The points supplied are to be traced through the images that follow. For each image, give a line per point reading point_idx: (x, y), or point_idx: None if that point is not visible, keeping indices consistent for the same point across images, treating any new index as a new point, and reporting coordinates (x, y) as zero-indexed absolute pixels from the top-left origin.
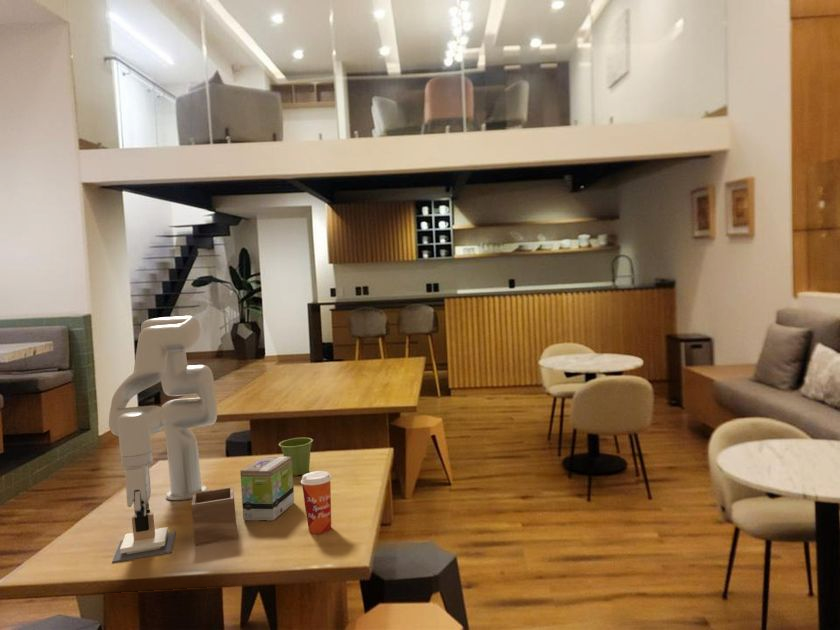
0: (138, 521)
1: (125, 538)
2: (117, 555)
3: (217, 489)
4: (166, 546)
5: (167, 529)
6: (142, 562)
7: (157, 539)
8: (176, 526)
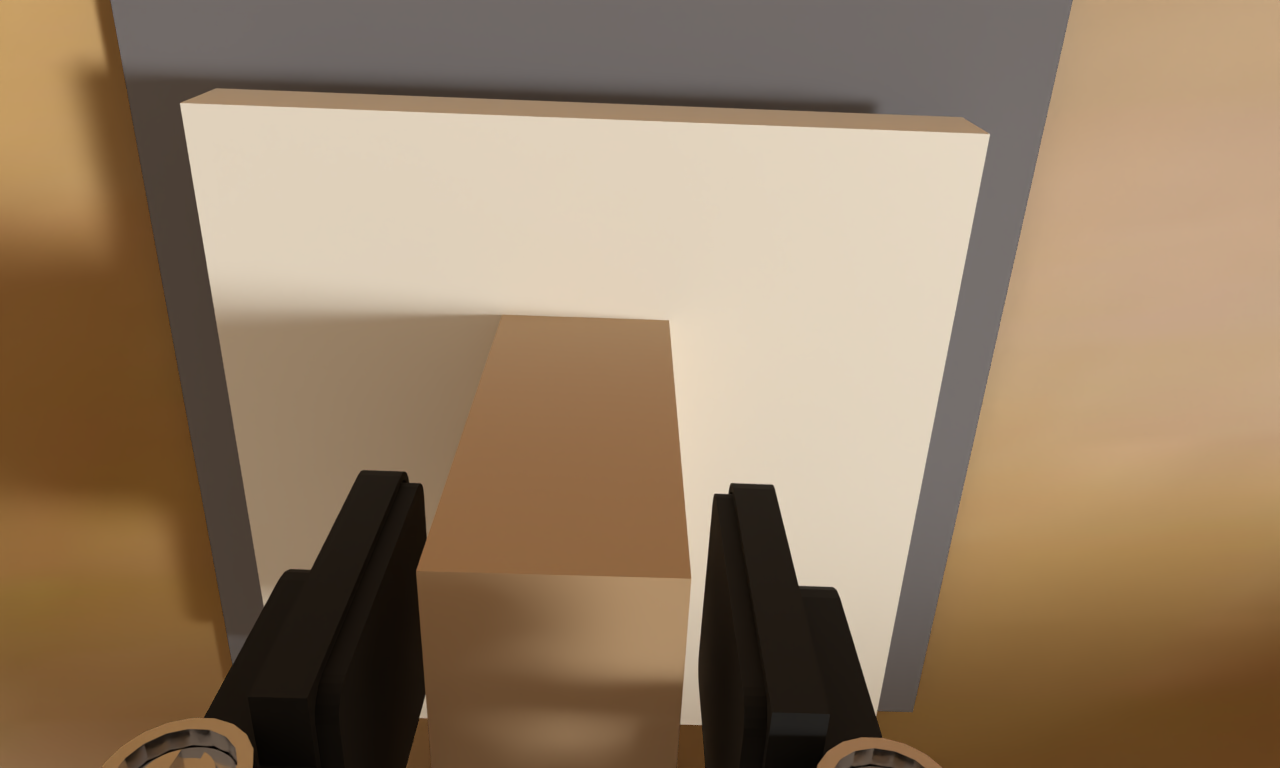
0: (223, 692)
1: (717, 153)
2: (353, 10)
3: None
4: None
5: None
6: (22, 389)
7: None
8: (1159, 698)
